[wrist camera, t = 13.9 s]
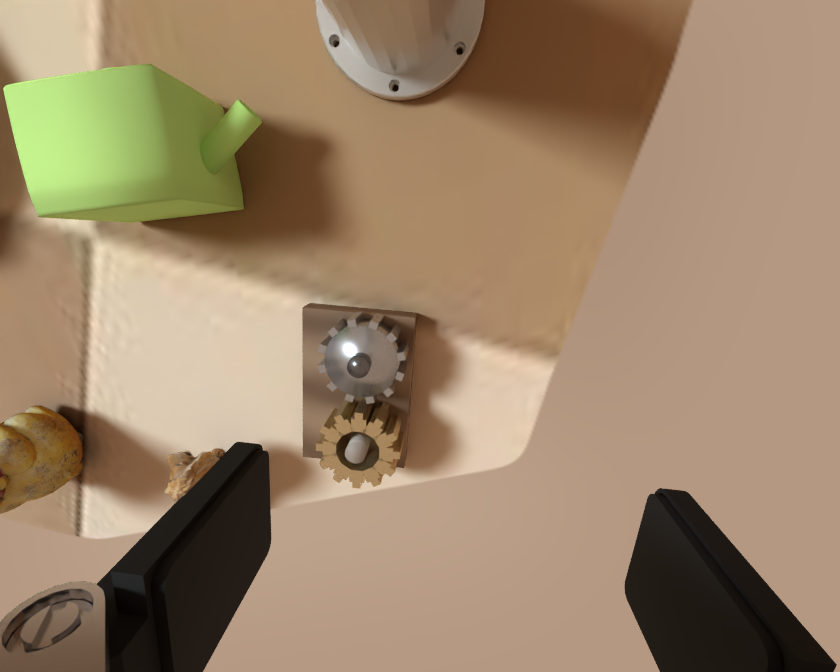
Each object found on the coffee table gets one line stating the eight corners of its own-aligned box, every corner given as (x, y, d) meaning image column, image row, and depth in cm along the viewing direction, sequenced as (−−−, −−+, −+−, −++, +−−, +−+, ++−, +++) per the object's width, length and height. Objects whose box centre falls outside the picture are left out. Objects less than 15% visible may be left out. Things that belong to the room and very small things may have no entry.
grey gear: (318, 318, 37) (302, 331, 33) (400, 305, 36) (393, 315, 32) (338, 395, 38) (324, 415, 34) (416, 383, 38) (411, 403, 34)
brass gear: (327, 392, 38) (315, 408, 35) (406, 399, 38) (402, 417, 35) (327, 461, 41) (315, 483, 37) (401, 469, 40) (397, 492, 37)
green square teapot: (275, 78, 34) (212, 18, 25) (296, 203, 36) (245, 191, 27) (73, 107, 35) (-58, 61, 26) (104, 226, 38) (-6, 221, 28)
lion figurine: (212, 412, 42) (151, 462, 34) (260, 433, 43) (212, 487, 34) (178, 519, 46) (116, 588, 38) (222, 538, 47) (170, 610, 38)
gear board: (310, 303, 38) (284, 318, 33) (417, 312, 38) (410, 329, 32) (309, 445, 43) (287, 481, 37) (406, 456, 42) (398, 494, 36)
